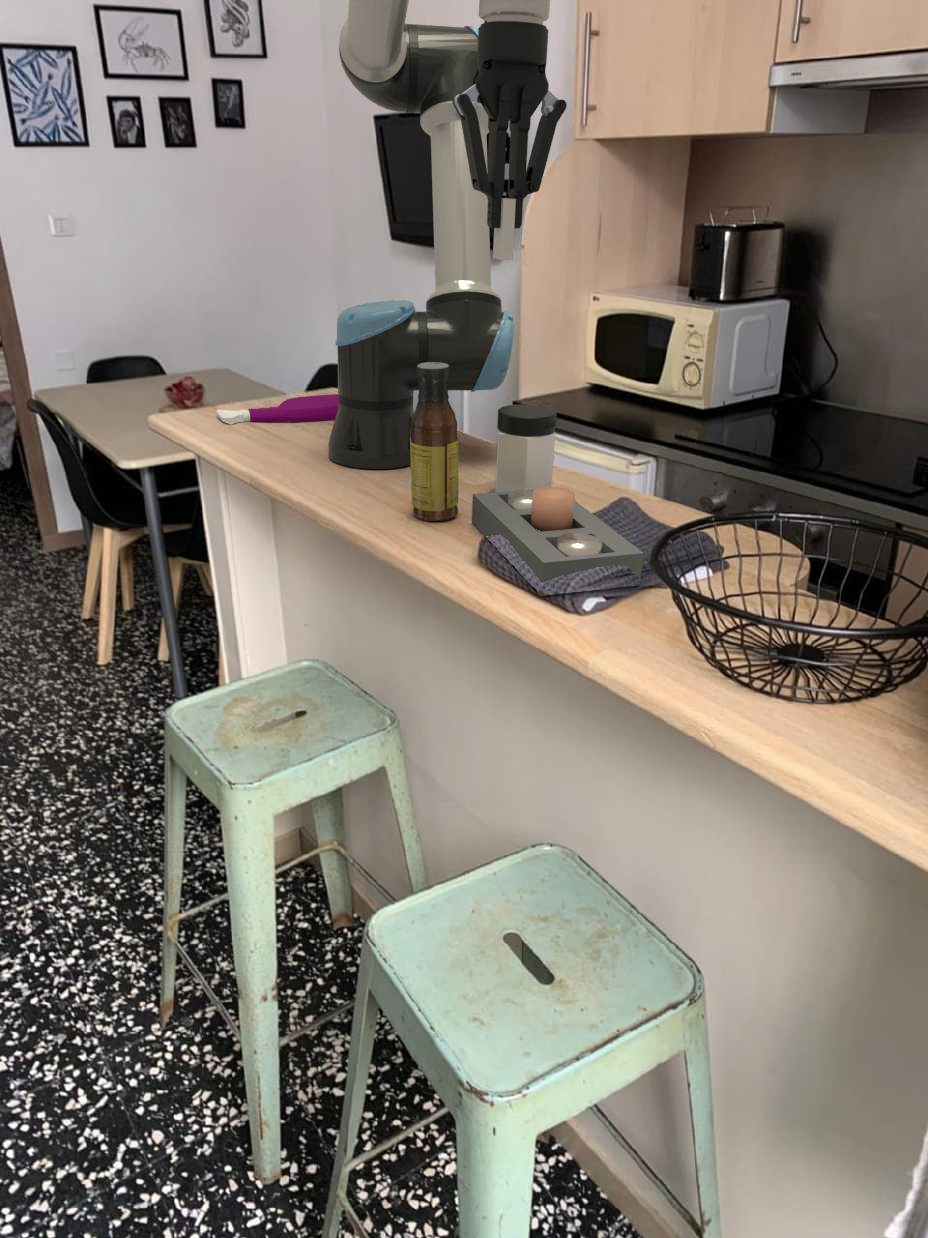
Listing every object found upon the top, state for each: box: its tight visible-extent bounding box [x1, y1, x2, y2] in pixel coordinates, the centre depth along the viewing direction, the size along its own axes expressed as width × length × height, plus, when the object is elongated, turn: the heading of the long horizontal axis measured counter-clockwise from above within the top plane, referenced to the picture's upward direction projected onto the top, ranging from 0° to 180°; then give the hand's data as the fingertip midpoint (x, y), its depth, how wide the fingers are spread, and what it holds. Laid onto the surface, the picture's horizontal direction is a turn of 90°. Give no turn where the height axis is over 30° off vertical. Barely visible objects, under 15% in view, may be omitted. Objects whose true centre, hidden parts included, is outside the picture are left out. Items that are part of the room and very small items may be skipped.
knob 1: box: [508, 491, 533, 510], centre depth 120 cm, size 5×5×4 cm
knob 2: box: [557, 533, 602, 557], centre depth 106 cm, size 5×5×4 cm
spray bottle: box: [215, 393, 338, 426], centre depth 170 cm, size 3×11×25 cm
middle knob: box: [531, 486, 576, 531], centre depth 112 cm, size 5×5×4 cm
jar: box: [494, 403, 558, 492], centre depth 132 cm, size 9×8×12 cm
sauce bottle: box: [410, 362, 459, 522], centre depth 120 cm, size 7×6×20 cm
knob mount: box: [471, 489, 644, 583], centre depth 113 cm, size 24×12×4 cm, turn 18°
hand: (502, 258), depth 110 cm, fingers closed
